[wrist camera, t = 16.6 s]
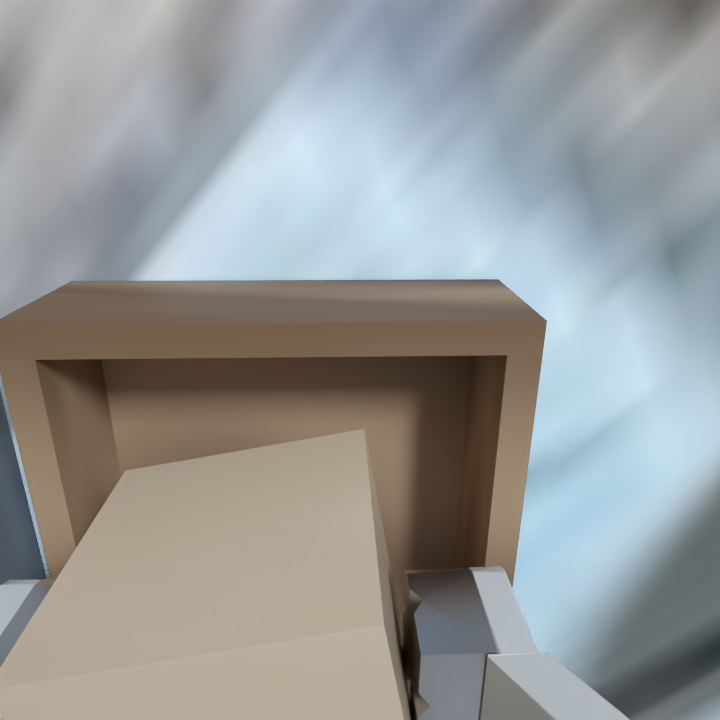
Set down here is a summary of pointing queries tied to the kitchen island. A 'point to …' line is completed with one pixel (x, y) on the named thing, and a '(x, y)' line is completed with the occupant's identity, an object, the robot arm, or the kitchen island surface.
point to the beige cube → (223, 597)
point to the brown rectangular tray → (284, 397)
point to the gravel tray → (15, 517)
